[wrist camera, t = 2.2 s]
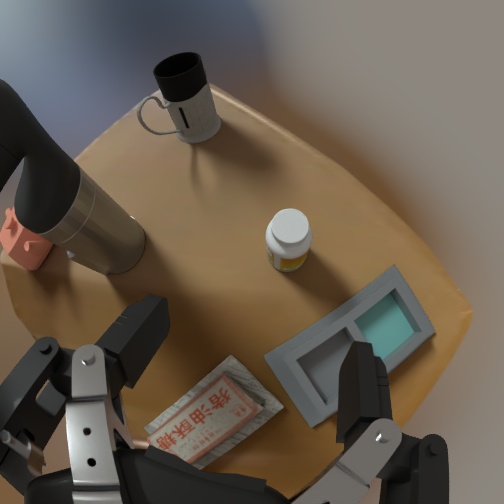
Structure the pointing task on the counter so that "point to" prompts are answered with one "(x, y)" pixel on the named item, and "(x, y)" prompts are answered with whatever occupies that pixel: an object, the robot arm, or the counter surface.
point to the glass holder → (185, 98)
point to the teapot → (23, 243)
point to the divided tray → (342, 336)
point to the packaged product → (214, 415)
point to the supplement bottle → (288, 240)
